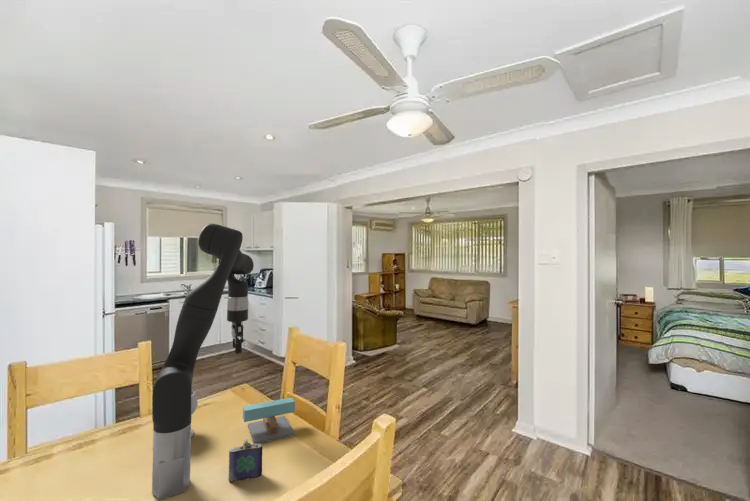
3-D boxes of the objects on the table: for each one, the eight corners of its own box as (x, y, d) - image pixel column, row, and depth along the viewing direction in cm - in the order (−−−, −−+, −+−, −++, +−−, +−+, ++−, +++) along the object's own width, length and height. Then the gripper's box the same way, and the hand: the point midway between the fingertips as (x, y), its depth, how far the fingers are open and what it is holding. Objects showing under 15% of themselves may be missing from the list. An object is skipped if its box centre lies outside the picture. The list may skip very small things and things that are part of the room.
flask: (228, 483, 100) (229, 446, 100) (228, 477, 103) (229, 440, 103) (262, 477, 103) (262, 441, 103) (262, 471, 106) (262, 436, 106)
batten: (294, 412, 132) (295, 401, 132) (244, 422, 123) (244, 410, 123) (292, 407, 135) (292, 397, 135) (242, 417, 127) (242, 406, 127)
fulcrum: (294, 435, 127) (294, 418, 127) (253, 444, 120) (254, 426, 120) (284, 418, 139) (285, 403, 139) (247, 426, 132) (247, 410, 132)
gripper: (250, 310, 130) (250, 354, 129) (245, 304, 142) (244, 344, 142) (229, 311, 126) (228, 356, 126) (225, 305, 139) (224, 346, 139)
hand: (236, 350), depth 134 cm, fingers open, 8 cm apart
